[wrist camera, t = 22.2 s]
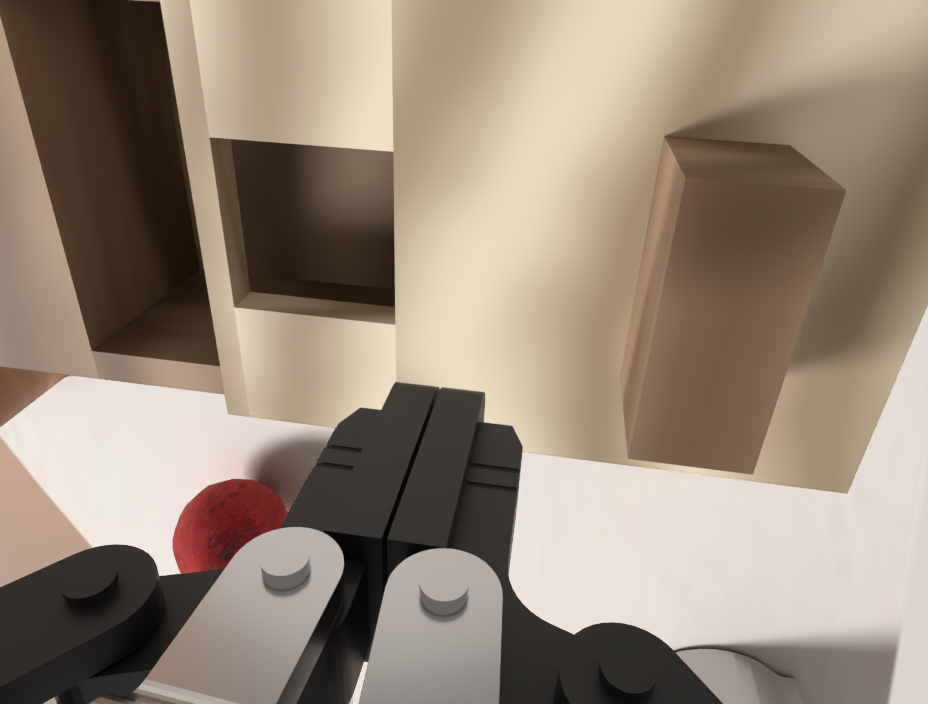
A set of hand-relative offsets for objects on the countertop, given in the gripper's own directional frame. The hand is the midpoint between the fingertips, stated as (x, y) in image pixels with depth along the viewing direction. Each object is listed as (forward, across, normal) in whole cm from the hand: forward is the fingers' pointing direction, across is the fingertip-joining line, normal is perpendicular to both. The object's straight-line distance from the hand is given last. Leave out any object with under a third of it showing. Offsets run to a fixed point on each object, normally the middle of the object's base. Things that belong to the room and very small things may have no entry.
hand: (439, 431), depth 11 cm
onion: (+20, +14, +20) cm, 31 cm away
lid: (+10, -1, 0) cm, 10 cm away
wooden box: (+19, +10, 0) cm, 21 cm away
